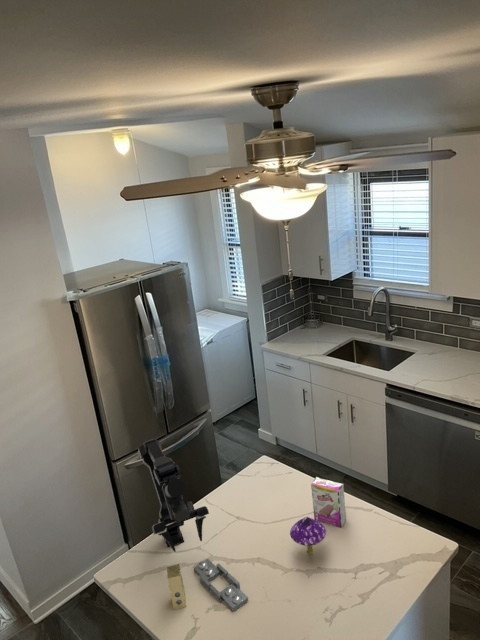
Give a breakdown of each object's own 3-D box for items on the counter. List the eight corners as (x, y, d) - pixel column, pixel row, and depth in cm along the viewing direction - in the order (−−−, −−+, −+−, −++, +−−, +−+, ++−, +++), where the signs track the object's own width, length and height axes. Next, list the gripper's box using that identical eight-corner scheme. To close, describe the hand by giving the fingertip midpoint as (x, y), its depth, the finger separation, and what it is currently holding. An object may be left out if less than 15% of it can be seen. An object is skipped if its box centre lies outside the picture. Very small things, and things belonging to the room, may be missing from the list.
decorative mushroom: (311, 535, 190) (307, 500, 185) (335, 553, 180) (332, 517, 176) (285, 553, 183) (280, 517, 179) (309, 572, 173) (305, 535, 169)
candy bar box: (313, 520, 197) (310, 483, 193) (319, 512, 201) (315, 476, 196) (341, 528, 191) (338, 490, 186) (346, 520, 195) (343, 483, 190)
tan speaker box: (173, 597, 171) (166, 566, 167) (185, 594, 171) (179, 563, 168) (174, 610, 166) (167, 578, 162) (186, 607, 166) (180, 575, 163)
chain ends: (191, 572, 180) (190, 566, 179) (210, 560, 184) (209, 554, 184) (230, 613, 162) (229, 607, 161) (251, 599, 166) (250, 592, 165)
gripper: (149, 507, 165) (163, 558, 161) (204, 487, 171) (219, 536, 167) (146, 509, 175) (159, 556, 171) (198, 490, 181) (212, 535, 177)
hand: (188, 546), depth 171 cm, fingers open, 9 cm apart
